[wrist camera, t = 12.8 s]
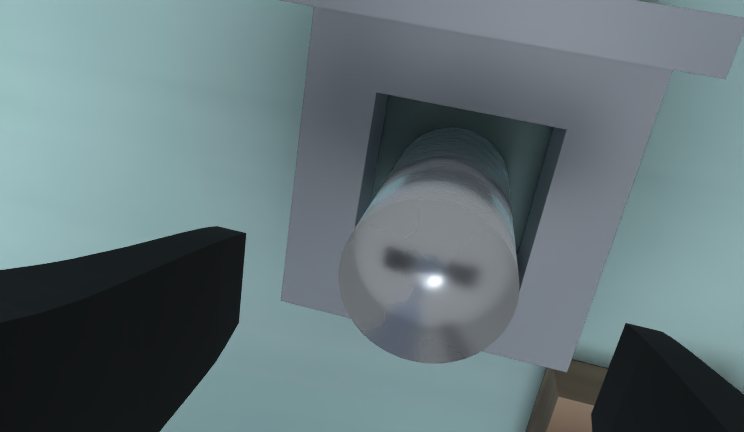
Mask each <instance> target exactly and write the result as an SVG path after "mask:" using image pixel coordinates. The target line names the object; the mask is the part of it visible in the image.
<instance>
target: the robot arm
mask: <svg viewBox="0 0 744 432" xmlns="http://www.w3.org/2000/svg"><path fill="white" fill-rule="evenodd" d="M245 242H246V233H243V232H239V231H235V230H230V229H226V228H222V227H218V226H216V227H207V228H201V229H196V230H192V231H187V232H183V233H179V234H175V235H171V236H167V237H163V238H159V239H156V240H152V241H148V242H144V243H140V244H136V245H132V246H128V247H124V248H119V249H115V250H110V251H106V252H101V253H97V254H92V255H88V256H83V257H79V258H74V259H69V260H64V261H59V262H53V263H47V264H41V265H34V266H27V267H20V268H13V269H6V270H0V432H160V430H161V429H162V428H163V427H164V425H165V424H166V423H167V422H168V421H169V419H170V418H171V417H172V416H173V414H174V413H175V412H176V411H177V410H178V408H179V407H180V406H181V405H182V403H183V402H184V401H185V400H186V399H187V397H188V396H189V395H190V394H191V392H192V391H193V390H194V389H195V387H196V386H197V385H198V384H199V382H200V381H201V380H202V379H203V377H204V376H205V375H206V374H207V372H208V371H209V370H210V369H211V367H212V366H213V365H214V363H215V362H216V360H217V359H218V357H219V356H220V354H221V352H222V351H223V349H224V347H225V346H226V344H227V342H228V341H229V339H230V337H231V335H232V334H233V332H234V330H235V328H236V327H237V325H238V323H239V313H240V301H241V289H242V277H243V266H244V254H245ZM591 421H592V432H744V394H742V393H741V392H740V391H739V390H737V389H736V388H735V387H734V386H732V385H731V384H730V383H729V382H727V381H726V380H725V379H724V378H723V377H721V376H720V375H719V374H718V373H716V372H715V371H714V370H713V369H711V368H710V367H709V366H708V365H706V364H705V363H704V362H703V361H702V360H700V359H699V358H698V357H697V356H695V355H694V354H693V353H691V352H690V351H689V350H688V349H686V348H685V347H684V346H682V345H681V344H680V343H678V342H677V341H675V340H674V339H673V338H671V337H670V336H668V335H666V334H665V333H663V332H661V331H657V330H653V329H649V328H644V327H640V326H636V325H632V324H627V323H626V324H625V327H624V329H623V332H622V334H621V337H620V340H619V342H618V345H617V347H616V350H615V353H614V355H613V358H612V361H611V363H610V366H609V368H608V371H607V374H606V376H605V379H604V381H603V384H602V387H601V389H600V392H599V394H598V397H597V400H596V402H595V405H594V408H593V410H592V413H591Z"/></svg>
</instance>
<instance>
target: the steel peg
mask: <svg viewBox="0 0 744 432" xmlns="http://www.w3.org/2000/svg"><path fill="white" fill-rule="evenodd" d="M338 282H339V290H340V294H341V298H342V301H343V304H344V307H345V309H346V311H347V312H348V314H349V316H350V318H351V319H352V321H353V322H354V324H355V325H356V326H357V327H358V329H359V330H360V331H361V332H362V333H363V334H364V335H365V336H366V337H367V338H368V339H369V340H370V341H372V342H373V343H375V344H376V345H377V346H379V347H380V348H382V349H384V350H386V351H387V352H389V353H391V354H394V355H396V356H398V357H401V358H404V359H408V360H411V361H416V362H422V363H447V362H453V361H458V360H461V359H465V358H468V357H470V356H472V355H475V354H477V353H479V352H480V351H482V350H484V349H486V348H487V347H488V346H489V345H491V344H492V343H493V342H495V341H496V340H497V339H498V338H499V337H500V336H501V335H502V333H503V332H504V331H505V329H506V328H507V327H508V325H509V323H510V321H511V319H512V318H513V315H514V313H515V310H516V307H517V303H518V298H519V275H518V266H517V256H516V246H515V236H514V226H513V217H512V207H511V197H510V187H509V178H508V171H507V167H506V164H505V162H504V160H503V158H502V156H501V154H500V153H499V151H498V150H497V149H496V148H495V146H494V145H493V144H492V143H491V142H489V141H488V140H487V139H485V138H484V137H483V136H481V135H479V134H477V133H475V132H472V131H470V130H466V129H462V128H441V129H436V130H433V131H430V132H428V133H425V134H423V135H422V136H420V137H418V138H417V139H416V140H414V141H413V142H412V143H411V144H410V145H409V146H408V147H407V148H406V150H405V151H404V152H403V154H402V155H401V157H400V159H399V160H398V162H397V163H396V165H395V166H394V168H393V169H392V171H391V173H390V174H389V176H388V177H387V179H386V180H385V182H384V184H383V185H382V187H381V188H380V190H379V191H378V193H377V195H376V196H375V198H374V199H373V201H372V202H371V204H370V206H369V207H368V209H367V210H366V212H365V213H364V215H363V216H362V218H361V220H360V221H359V223H358V224H357V226H356V227H355V229H354V231H353V232H352V234H351V235H350V237H349V239H348V241H347V242H346V244H345V246H344V249H343V251H342V254H341V258H340V262H339V270H338Z"/></svg>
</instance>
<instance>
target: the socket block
mask: <svg viewBox="0 0 744 432" xmlns="http://www.w3.org/2000/svg"><path fill="white" fill-rule="evenodd" d="M607 371H608V369H606V368H602V367H598V366H594V365H590V364H586V363H582V362H578V361H574V360H571V363H570V365H569V368H568V371H567V372H563V371H559V370H555V369H551V368H547V369H546V372H545V375H544V378H543V381H542V384H541V387H540V390H539V393H538V396H537V399H536V402H535V405H534V408H533V411H532V414H531V417H530V420H529V423H528V426H527V429H526V432H592V421H591V413H592V410H593V408H594V405H595V402H596V400H597V397H598V394H599V392H600V389H601V387H602V384H603V381H604V379H605V376H606V374H607Z"/></svg>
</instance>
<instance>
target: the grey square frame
mask: <svg viewBox="0 0 744 432" xmlns="http://www.w3.org/2000/svg"><path fill="white" fill-rule="evenodd" d="M281 1H286V2H292V3H298V4H303V5H309V6H314V11H313V19H312V28H311V37H310V46H309V55H308V64H307V73H306V81H305V90H304V99H303V108H302V117H301V126H300V135H299V143H298V152H297V161H296V170H295V179H294V188H293V197H292V205H291V214H290V223H289V232H288V241H287V250H286V259H285V267H284V276H283V285H282V294H281V301H284V302H288V303H292V304H296V305H300V306H304V307H308V308H312V309H316V310H320V311H324V312H328V313H332V314H336V315H340V316H344V317H348V318H350V316H349V314H348V312H347V311H346V309H345V307H344V304H343V301H342V298H341V294H340V290H339V282H338V270H339V262H340V258H341V254H342V251H343V249H344V246H345V244H346V242H347V241H348V239H349V237H350V235H351V234H352V232H353V231H354V229H355V227H356V226H357V224H358V223H359V221H360V220H361V218H362V216H363V215H364V213H365V212H366V210H367V209H368V207H369V206H370V201H371V195H372V189H373V183H374V177H375V171H376V165H377V159H378V153H379V147H380V141H381V135H382V129H383V123H384V118H385V112H386V106H387V100H388V95H392V96H398V97H403V98H408V99H413V100H418V101H423V102H428V103H434V104H439V105H444V106H449V107H454V108H459V109H464V110H469V111H475V112H480V113H485V114H490V115H495V116H500V117H505V118H511V119H516V120H521V121H526V122H531V123H536V124H541V125H546V126H552V127H554V129H553V132H552V136H551V139H550V143H549V146H548V150H547V153H546V157H545V160H544V164H543V167H542V171H541V174H540V178H539V181H538V185H537V189H536V192H535V196H534V199H533V203H532V206H531V210H530V213H529V217H528V220H527V224H526V227H525V231H524V234H523V238H522V241H521V245H520V249H519V252H518V256H517V266H518V275H519V298H518V303H517V307H516V310H515V313H514V315H513V318H512V319H511V321H510V323H509V325H508V327H507V328H506V329H505V331H504V332H503V333H502V335H501V336H500V337H499V338H498V339H497V340H496V341H495V342H493V343H492V344H491V345H489V346H488V347H487V348H486V349H484V350H482V351H483V352H487V353H491V354H495V355H499V356H503V357H507V358H511V359H515V360H519V361H523V362H527V363H531V364H535V365H539V366H543V367H547V368H551V369H555V370H559V371H563V372H567V371H568V368H569V365H570V363H571V360H572V357H573V354H574V351H575V348H576V345H577V343H578V340H579V337H580V334H581V331H582V328H583V325H584V323H585V320H586V317H587V314H588V311H589V308H590V305H591V303H592V300H593V297H594V294H595V291H596V288H597V285H598V283H599V280H600V277H601V274H602V271H603V268H604V265H605V263H606V260H607V257H608V254H609V251H610V248H611V245H612V243H613V240H614V237H615V234H616V231H617V228H618V225H619V223H620V220H621V217H622V214H623V211H624V208H625V205H626V203H627V200H628V197H629V194H630V191H631V188H632V185H633V183H634V180H635V177H636V174H637V171H638V168H639V165H640V162H641V160H642V157H643V154H644V151H645V148H646V145H647V142H648V140H649V137H650V134H651V131H652V128H653V125H654V122H655V120H656V117H657V114H658V111H659V108H660V105H661V102H662V100H663V97H664V94H665V91H666V88H667V85H668V82H669V80H670V77H671V74H672V71H673V70H676V71H682V72H688V73H693V74H699V75H705V76H710V77H716V78H722V79H726V77H727V74H728V72H729V69H730V67H731V64H732V61H733V59H734V56H735V54H736V51H737V48H738V46H739V43H740V41H741V38H742V36H743V33H744V18H743V17H736V16H730V15H724V14H718V13H712V12H706V11H700V10H693V9H687V8H681V7H675V6H669V5H663V4H657V3H650V2H644V1H638V0H281Z"/></svg>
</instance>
